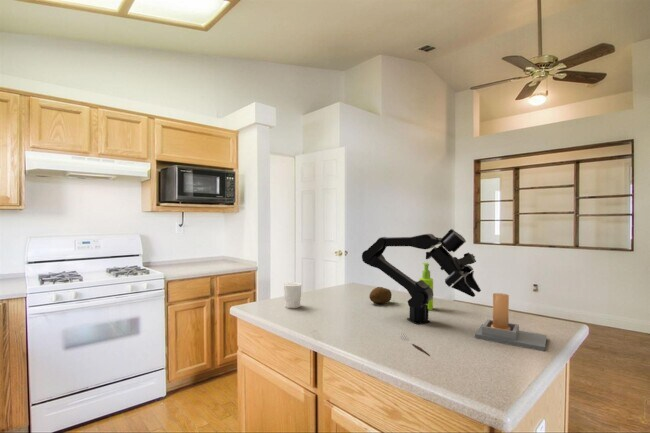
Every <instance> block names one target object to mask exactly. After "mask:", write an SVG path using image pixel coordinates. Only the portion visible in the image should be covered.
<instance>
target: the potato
mask: <svg viewBox="0 0 650 433" xmlns="http://www.w3.org/2000/svg"><path fill="white" fill-rule="evenodd" d="M391 299H392V292H391V290H390V289H389V288H386V287H382V286H378V287H375V288H373V289H372V290H371V292H370V293H369V300H370V301H371V302H372V303H375V304H387V303H389V302H390V301H391Z"/></svg>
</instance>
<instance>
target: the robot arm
mask: <svg viewBox="0 0 650 433" xmlns="http://www.w3.org/2000/svg"><path fill="white" fill-rule="evenodd" d="M466 242H467V241H466V239H465V237H464V236H463V235H461V234H460V233H459V232H457V231H455V230H454V229H453V228H451V229H449V230H448V231H447V233H446V234H445V235H444V236H443V237H437V236H435V235H434V234H432V233H425V234H419V235H414V236H399V237H398V236H397V237H394V236H393V237H391V236H390V237H387V236H381V237H378V238H377V240H376V241H375V242H373V244H372V245H370V246H369V247H368V248H367V249H366V250H364V251H363V252H362V253H361V259H362V262H363V263H365V265H368V266H370V267H373V268H376V269H378V270H380V271H382V272H383V273H384V274H385V275H387V276H388V277H389V278H391V280H394V281H395V283H398V285H400V286H402V287H403V288H404V289H406V291H407V292H408V294H409V295H410V297H411V298H410V299H408V300H407V304H408V307H409V317H407V318H406V320H408V321H409V322H412V323H413V324H416V325H420V324H429V323H431V320H429V310H428V305H426V304H428V302H429V300H431V299H432V298H433V299H434V289H433V290H432V289H431V288H430V285H427V284H426V283H425V282H424V281H422V280H420V281H419V280H418V281H415V280H413V279H412V278H411V277H409V275H407V274H405V273H404V272H403V271H402V270H400V269H399V268H397V267H395V265H394V264H391V263H390V262H389V261H388V260H387V259H386V258H385V257H384V255H383V253H384V252H385V251H386V248H387V247H411V248H415V249H420V250H430V249H431V250H430V251H426V252H425V259H426V260H430V259H431V258H432V259H433V260H434V261H435V263H437V265H439V267H440V270H441V271H444V273H446V274H447V275H448V276H447V277H446V278H445V279H444V280H445V281H444V283H445V285H447V287H449V288H452V289H455V290H457V291H458V292H461V293H464V294H465V295H468V296H470V297H472V298H473V297H475V296H476V293H475V292H474V291H476V292H477V293H480V292H481V291H482V289H481V287H480V286H479V285H478V283H477V280H475V278H474V273H475V271H474V268H473V267H472V266H471V265H473V264H474V263H477V260H476V256H475V255H474V254H473V253H470V252H466V253H463V257H460V258H458V257H456V256H453V255H452V254H451V252H453V253H455V252H457V250H459V249H460V248H461V247H462V246H463V245H464V244H465V243H466ZM436 245H437V247H436ZM438 245H439V246H438Z"/></svg>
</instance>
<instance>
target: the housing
mask: <svg viewBox="0 0 650 433" xmlns="http://www.w3.org/2000/svg"><path fill="white" fill-rule="evenodd" d="M492 324H493V319H486V321H485V322H484V323H483V324H481V325H480V326H479V328H477V330H476V332H475V333H474V338H476V339H480V340H486V341H490V342H494V343H500V344H506V345H512V346H517V347H522V348H526V349H532V350H538V351H544V352H545V351H546V346H547V345H546V344H547V334H542V333H535V332H529V331H523V330H520V324H518V323H512V322H509V324H508V327H510V331H509V330H504V329H498V328H492V327H491V325H492Z"/></svg>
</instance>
